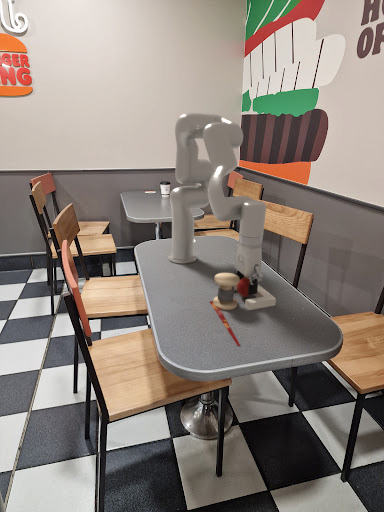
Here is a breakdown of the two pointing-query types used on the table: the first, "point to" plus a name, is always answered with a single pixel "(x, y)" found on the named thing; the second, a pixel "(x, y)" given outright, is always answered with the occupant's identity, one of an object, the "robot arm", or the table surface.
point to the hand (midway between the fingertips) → (245, 288)
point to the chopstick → (224, 322)
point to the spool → (226, 291)
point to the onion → (243, 286)
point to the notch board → (259, 299)
